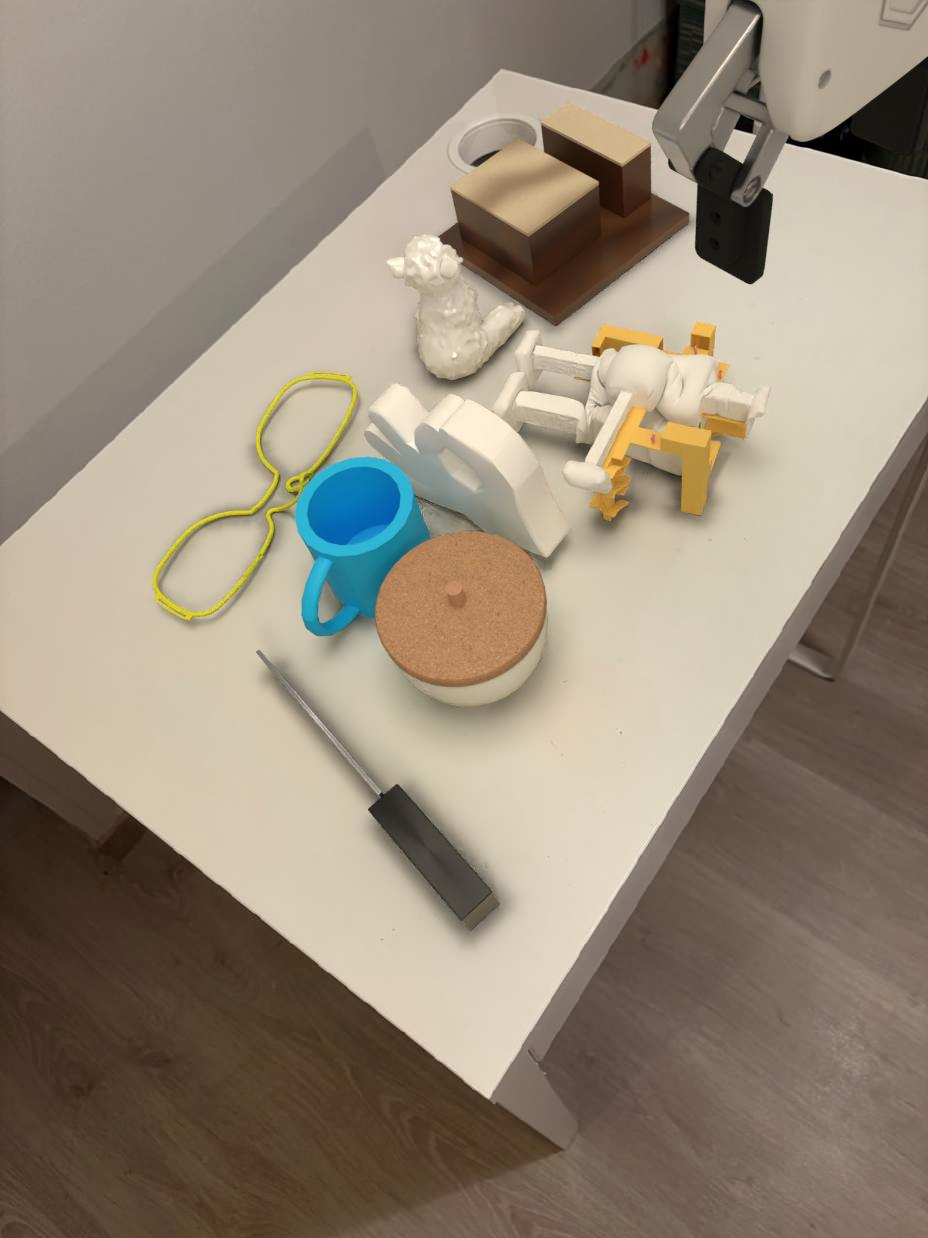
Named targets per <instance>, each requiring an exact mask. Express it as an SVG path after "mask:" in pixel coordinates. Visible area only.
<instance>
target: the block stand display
mask: <svg viewBox="0 0 928 1238" xmlns="http://www.w3.org/2000/svg"><path fill="white" fill-rule="evenodd" d="M449 190H450V194H451V197H452V202H453V207H454V212H455V216H456V221H457V222H456V223H455V224H452V225H451V226H450V227H449V228H447V229H446V230H445V231H443V232H442V233H440V235H438V236H437V237H438V238H440V242H442V244H443V245H450V246H451V247H452V248H453V249H455V250H456V254H457V255H458V257H462V258H463V262H462V263H461V265H462V266H465V267H466V268H467V269H469V270H470V271H472V272H474V273H475V274H477V275H478V276H480V277H481V278H483V279H484V280H486V281H487V282H489V283H490V284H492V285H493V286H494V287H497V288H498V289H500V290H501V291H503V293H506V294H507V295H508V296H510V297H512V298H513V299H514V300H516V301H518V302H519V303H521V305H524V306H525V307H527V308H528V309H530V310H531V311H532V312H534V313H535V314H537V315H539V316H540V317H542V318H543V319H544V320H546V321H548V322H549V323H551V324H552V325H554V326H558V325H559V324H560V323H562V322H563V321H564V320H566V319H567V318H568V317H569V316H571V315H572V314H573V313H575V312H576V311H577V310H578V309H580V308H581V307H582V306H583V305H585V304H586V303H588V302H589V301H590V300H591V299H593V298H594V297H595V296H597V294H599V293H600V292H602V291H603V290H604V289H605V288H607V287H608V286H610V284H612V283H614V282H615V280H617V279H618V278H620V277H621V276H622V275H624V274H625V273H626V272H628V271H629V270H630V269H631V268H633V267H634V266H635V265H637V264H638V263H639V262H640V261H641V260H643V259H644V258H645V257H647V256H648V255H649V254H650V253H652V252H653V251H654V250H656V249H657V248H658V247H660V246H661V245H662V244H663V243H665V242H666V241H668V239H670V238H671V237H673V236H674V235H675V234H677V232H679V231H680V230H682V229H684V228H685V226H687V225H688V224H689V223H690V216H691V215H690V212H689V211H687V210H685V209H683V208H682V207H679V206H678V205H675V204H673V203H671V202H670V201H668V200H666V199H664V198H662V197H660V196H659V195H656V194H654V193H652V192H651V198H650V199H649V200H648V201H646V202H645V203H644V204H642V205H641V206H640V207H638V208H637V209H636V210H634V211H633V212H632V213H630V214H629V215H628V216H627V217H625V218H623V217H621V216H619V215H617V214H615V213H613V212H612V211H610V210H608V209H606V208H604V207H603V206H601V205H600V197H599V182H598V181H597V180H595V179H593V178H591V177H589V176H587V175H586V174H584V173H582V172H580V171H578V170H576V169H574V168H572V167H571V166H569V165H567V164H565V163H563V162H561V161H559V160H558V159H556V158H554V157H552V156H550V155H548V154H546V153H544V150H541V149H539V148H537V147H535V146H533V145H531V144H529V143H528V142H526V141H524V140H522V139H520V138H516V139H515V140H513V141H511V142H510V143H509V144H508V145H506V146H504V148H502V149H500V150H499V151H497V152H496V153H495V154H494V155H492V156H490V157H489V158H488V159H486V160H485V161H484V162H482V163H480V165H478V166H477V167H475V168H473V170H471V171H469V172H468V173H467V174H466V175H464V176H462V177H461V178H460V179H459V180H457V181H456V182H454V183H453V184H451V185H450V186H449Z"/></svg>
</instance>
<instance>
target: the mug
mask: <svg viewBox="0 0 928 1238" xmlns="http://www.w3.org/2000/svg"><path fill="white" fill-rule="evenodd" d="M294 520H295V525H296V530H297V534H299V536H300V538H301V539H302V541H303V543H304V545H305V546H306V548H307V550H308V552H309V553H310V555H311V557H312V558H313V560H314V563H313V564H312V567H311V569H310V572H309V574H308V577H307V579H306V580H305V585H304V589H303V593H302V597H301V611H300V612H301V613H300V616H301V619H302V622H303V624H304V628H305V629H306V630H307V631H309V632H310V633H311V634H312V635H314V636H315V637H331V636H333V635H336V634H337V633H338V632H341V631H342V630H344V629H345V628H346V627H347V626H348V625H349V624H350V623H351V622H352V621H354V620H355V619H356V617H357V616H361V617H364V618H369V619H375V607H376V600H377V596H378V593H379V590H380V587H381V585H382V583H383V581H384V580H385V578H386V576H387V574H388V573H389V572H390V570H391V569H392V568H393V566H394V565H395V564H396V563H397V562H398V561H399V560H400V559H401V558H402V557H403V556H404V555H405V554H407V553H408V552H409V551H410V550H412V549H413V548H415V547H416V546H418V545H420V544H422V543H423V542H425V541H428V540H430V539H432V537H431V534H430V532H429V529H428V527H427V523H426V521H425V518H424V516H423V513H422V510H421V507H420V505H419V502H418V498H417V496H416V495H415V494H414V491H413V489H412V486H411V483H410V480H409V478H408V477H407V476H406V475H405V473H404V472H403V471H402V470H401V469H400V468H399V467H398V466H396V465H394V464H392V463H391V462H390V461H388V460H387V459H386V458H380V457H374V456H356V457H349V458H346V459H342V460H341V461H337V462H334V463H332V464H330V465H329V466H327V467H326V468H324V469H322V470H320V471H319V472H318V473H316V474H315V475H314V476H313V479H312V480H311V481H310V482H309V483H308V484H307V485H306V486H305V487H304V488H303V491H302V493H301V495H300V497H299V499H298V501H297V502H296V507H295V511H294ZM326 582H327V584H328V586H329V587H330V589H331V591H332V593H333V594H334V596H335V597H336V599H337V600H338V601H339V603H340V604H341V606H342V608H341V609H340V611H339V612H337V613H336V614H335V615H333V617H332V618H330V619H328V620H326V621H325V622H321V620H320V617H319V604H320V599H321V595H322V591H323V588H324V585H325V583H326Z"/></svg>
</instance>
